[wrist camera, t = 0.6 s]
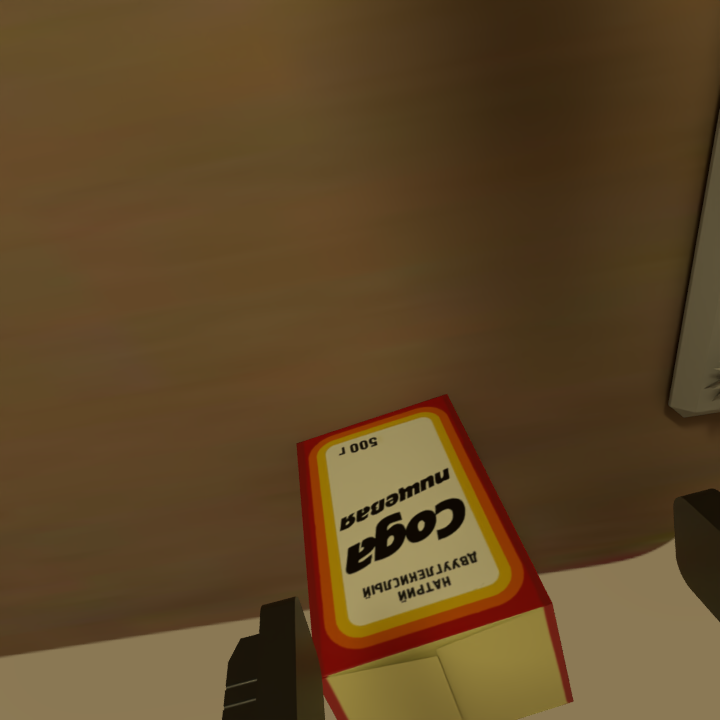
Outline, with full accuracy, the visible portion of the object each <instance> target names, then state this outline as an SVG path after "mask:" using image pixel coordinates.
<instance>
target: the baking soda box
mask: <svg viewBox="0 0 720 720" xmlns="http://www.w3.org/2000/svg"><path fill="white" fill-rule="evenodd" d="M297 456H298V468H299V481H300V493H301V506H302V518H303V531H304V543H305V556H306V568H307V580H308V593H309V605H310V618H311V630H312V640H313V643H314V646H315V649H316V652H317V656H318V660H319V664H320V669H321V676H322V684H323V695H324V696H325V698H326V700H327V702H328V704H329V705H330V707H331V709H332V711H333V713H334V715H335V716H336V718H337V720H517V719H520V718H523V717H526V716H530V715H532V714H536V713H539V712H542V711H545V710H548V709H552V708H555V707H558V706H561V705H564V704H567V703H570V702H573V697H572V692H571V688H570V683H569V678H568V674H567V669H566V665H565V660H564V655H563V650H562V646H561V641H560V636H559V632H558V628H557V623H556V618H555V613H554V609H553V604H552V602H551V600H550V598H549V596H548V594H547V592H546V590H545V588H544V586H543V584H542V582H541V580H540V578H539V576H538V574H537V572H536V570H535V568H534V566H533V564H532V562H531V560H530V558H529V556H528V554H527V552H526V550H525V548H524V546H523V544H522V542H521V540H520V538H519V536H518V534H517V532H516V530H515V528H514V526H513V524H512V522H511V520H510V518H509V516H508V514H507V512H506V510H505V508H504V506H503V504H502V502H501V500H500V499H499V497H498V495H497V493H496V491H495V489H494V487H493V485H492V483H491V481H490V479H489V477H488V475H487V473H486V471H485V469H484V467H483V465H482V463H481V461H480V459H479V457H478V455H477V453H476V451H475V449H474V447H473V445H472V443H471V441H470V439H469V437H468V435H467V433H466V431H465V429H464V427H463V425H462V423H461V421H460V419H459V417H458V415H457V413H456V411H455V409H454V407H453V405H452V403H451V401H450V399H449V397H448V395H447V394H445V395H442V396H439V397H436V398H433V399H430V400H427V401H424V402H421V403H418V404H415V405H412V406H409V407H406V408H403V409H400V410H397V411H394V412H391V413H388V414H385V415H382V416H379V417H376V418H373V419H370V420H367V421H364V422H361V423H357V424H354V425H351V426H348V427H345V428H342V429H339V430H336V431H333V432H330V433H327V434H324V435H321V436H318V437H315V438H312V439H309V440H306V441H303V442H300V443H297Z"/></svg>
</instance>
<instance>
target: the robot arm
mask: <svg viewBox="0 0 720 720" xmlns="http://www.w3.org/2000/svg"><path fill="white" fill-rule="evenodd" d="M673 508H674V528H675V547H676V559H677V564H678V567H679V570H680V572H681V574H682V576H683V578H684V580H685V582H686V583H687V585H688V586H689V587H690V589H691V590H692V591H693V592H694V593H695V594H696V596H697V597H698V598H699V599H700V600H701V601H702V602H703V604H704V605H705V606H706V607H707V608H708V609H709V610H710V612H711V613H712V614H713V615H714V616H715V617H716V618H717V619H718V620H719V622H720V492H719V491H718V490H716V489H708V490H704V491H700V492H696V493H693V494H689V495H685V496H681V497H678V498H676V499H675V501H674V507H673ZM224 698H225V699H224V710H223V717H222V720H325V713H324V698H323V684H322V676H321V669H320V664H319V660H318V656H317V652H316V649H315V646H314V643H313V640H312V637H311V634H310V631H309V628H308V625H307V622H306V619H305V616H304V613H303V610H302V607H301V604H300V601H299V599H298V597H292V598H288V599H285V600H281V601H277V602H273V603H269V604H266V605H262V606H261V611H260V629H259V634H257V635H253V636H249V637H245V638H241V639H240V641H239V643H238V645H237V647H236V648H235V650H234V652H233V654H232V656H231V658H230V660H229V662H228V670H227V680H226V691H225V697H224Z"/></svg>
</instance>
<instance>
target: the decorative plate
mask: <svg viewBox="0 0 720 720" xmlns="http://www.w3.org/2000/svg"><path fill="white" fill-rule="evenodd" d="M668 405H669V406H670V407H671V408H673V409H674V410H675V411H676V412H678V413H679V414H680V415H681V416H683V417H691V416H697V415H704V414H711V413H717V412H720V110H719V116H718V122H717V128H716V133H715V139H714V145H713V151H712V156H711V162H710V168H709V174H708V179H707V185H706V191H705V196H704V202H703V208H702V214H701V219H700V225H699V231H698V237H697V242H696V248H695V254H694V259H693V265H692V271H691V277H690V282H689V288H688V294H687V300H686V305H685V311H684V317H683V322H682V328H681V334H680V340H679V345H678V351H677V357H676V363H675V368H674V374H673V380H672V386H671V391H670V397H669V403H668Z"/></svg>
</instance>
